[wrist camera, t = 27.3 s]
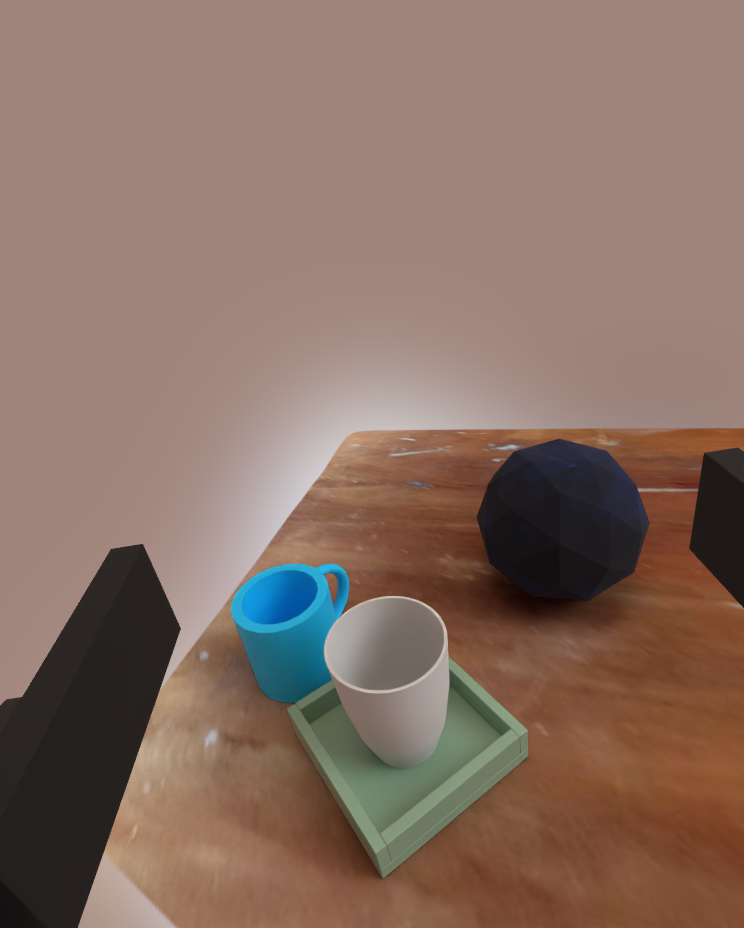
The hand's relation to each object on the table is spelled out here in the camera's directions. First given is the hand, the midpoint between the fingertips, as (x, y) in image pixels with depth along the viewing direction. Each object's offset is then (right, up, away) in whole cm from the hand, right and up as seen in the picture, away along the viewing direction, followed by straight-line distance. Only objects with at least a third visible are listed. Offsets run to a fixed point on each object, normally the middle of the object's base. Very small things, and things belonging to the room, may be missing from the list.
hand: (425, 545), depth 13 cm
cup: (+1, -18, +28) cm, 33 cm away
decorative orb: (+17, -9, +41) cm, 45 cm away
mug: (-7, -15, +38) cm, 41 cm away
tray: (+1, -19, +28) cm, 34 cm away
